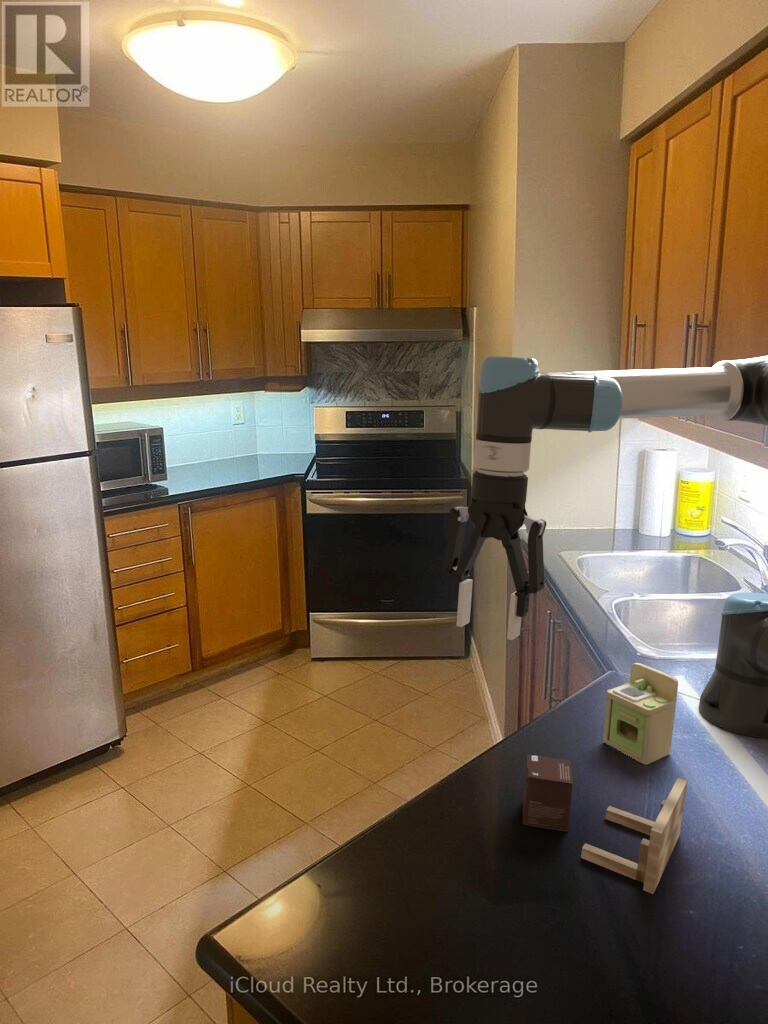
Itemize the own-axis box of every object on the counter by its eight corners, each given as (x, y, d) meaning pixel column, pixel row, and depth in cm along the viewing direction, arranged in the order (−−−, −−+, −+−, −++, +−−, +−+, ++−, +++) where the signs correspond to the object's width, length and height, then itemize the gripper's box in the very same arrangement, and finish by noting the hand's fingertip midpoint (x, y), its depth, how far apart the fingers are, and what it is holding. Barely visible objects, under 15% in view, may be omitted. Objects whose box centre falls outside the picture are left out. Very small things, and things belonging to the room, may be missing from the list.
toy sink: (598, 743, 123) (607, 669, 121) (626, 732, 127) (634, 660, 125) (643, 767, 116) (653, 689, 114) (670, 754, 121) (680, 679, 118)
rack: (610, 810, 104) (617, 758, 103) (679, 835, 100) (687, 780, 98) (577, 863, 93) (584, 805, 91) (653, 894, 88) (661, 833, 86)
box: (568, 833, 99) (573, 783, 97) (522, 826, 100) (526, 776, 99) (566, 807, 105) (571, 759, 103) (523, 800, 106) (527, 753, 104)
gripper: (423, 465, 104) (413, 621, 109) (561, 484, 94) (544, 656, 98) (448, 461, 111) (438, 608, 115) (581, 478, 100) (564, 639, 104)
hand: (487, 630), depth 107 cm, fingers open, 7 cm apart
